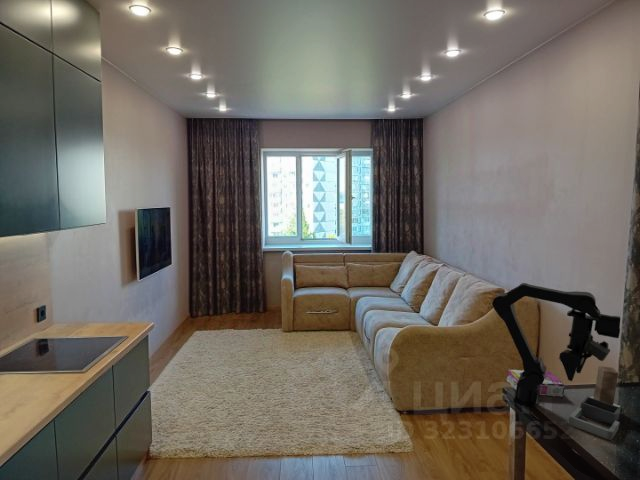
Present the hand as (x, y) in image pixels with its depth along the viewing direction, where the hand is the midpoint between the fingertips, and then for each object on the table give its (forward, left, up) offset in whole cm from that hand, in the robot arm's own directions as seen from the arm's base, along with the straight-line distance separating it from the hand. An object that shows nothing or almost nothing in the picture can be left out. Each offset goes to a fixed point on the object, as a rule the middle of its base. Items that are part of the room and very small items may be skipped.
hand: (574, 376), depth 154 cm
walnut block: (+6, +15, -12) cm, 20 cm away
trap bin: (+7, +6, -13) cm, 16 cm away
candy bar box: (-9, +16, -11) cm, 21 cm away
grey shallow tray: (+8, -3, -13) cm, 16 cm away
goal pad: (+6, +15, -13) cm, 21 cm away
